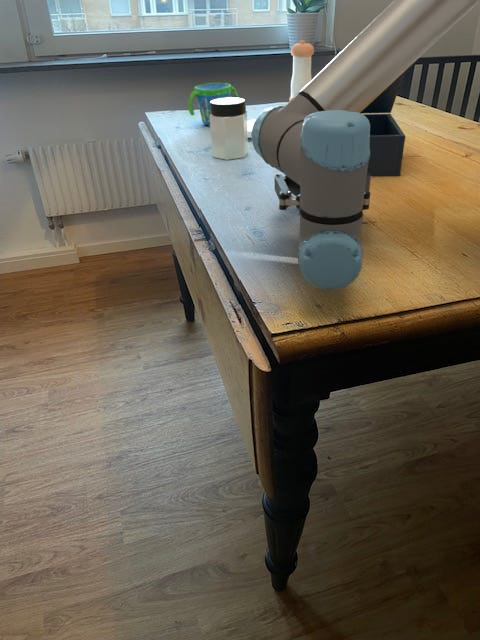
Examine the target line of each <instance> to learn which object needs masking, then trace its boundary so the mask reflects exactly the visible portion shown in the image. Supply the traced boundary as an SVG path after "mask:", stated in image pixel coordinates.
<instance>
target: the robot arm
mask: <svg viewBox="0 0 480 640" xmlns="http://www.w3.org/2000/svg"><path fill="white" fill-rule="evenodd" d="M478 3H480V0H393V1H392V2H391V3H390V4H389V5H387V6H386V8H384V9H383V10H382V11H381V12H380V13H379V14H378V15H377V16H376V17H375V18H374V19H373V20H372V21H371V22H370V23H369V24H368V25H367V26H366V27H365V28H364V29H363V30H362V31H360V33H358V35H356V37H354V39H352V40H351V42H349V43H348V44H347V45H346V46H345V47H344V48H343V49H342V50H341V51H339V53H338V54H337V55H336V56H335V57H334V58H333V59H332V60H331V61H330V62H329V63H328V64H326V65H325V67H323V68H322V70H320V71H319V72H318V73H317V74H316V75H315V76H314V77H312V80H311V81H310V82H309V83H308V84H307V85H306V86H305V87H304V88H303V89H302V90H301V91H300V92H299V93H298V94H297V95H296V96H295V97H294V98H293V99H292V100H290V99H289V101H288V102H287V103H286V104H285V105H276V106H275V105H274V106H271V107H268V108H266V109H264V110H262V111H261V112H260V114H259V115H258V116H257V117H256V118H255V119H256V120H255V122H254V125H253V128H252V134H251V137H252V138H251V141H252V142H251V143H252V146H253V149H254V151H255V152H256V154H257V155H258V156H259V157H260V158H262V160H263V161H264V162H265V164H267V165H269V166H270V167H271V168H274V169H276V170H277V171H279V172H281V173H282V174H279V173H277V174H274V192H275V194H276V196H277V198H278V210H280V211H286V210H287V209H288V208H291V207H292V206H293V207H295V209H297V210H298V231H299V232H298V250H297V262H298V264H299V269H300V271H299V272H300V273H301V275H302V277H303V279H304V280H305V281H306V283H308V284H309V285H311V286H312V287H313V288H316V289H318V290H320V291H321V290H322V291H328V292H331V291H337V290H341V289H344V288H346V287H348V286H349V285H351V284H353V282H355V281H356V279H357V278H358V277H359V276H360V273H361V272H362V269H363V268H362V267H363V255H364V250H363V248H362V244H361V238H362V226H363V218H364V212H363V211H367V210H369V209H370V203H371V202H370V201H371V191H370V189H371V179H372V176H371V174H370V173H367V169H368V162H369V157H370V149H369V147H370V146H369V143H370V123H369V120H368V119H367V117H365V116H364V115H363V114H364V113H362V114H361V113H360V112H361V111H363V110H364V109H365V108H366V107H367V106H368V105H369V104H370V103H371V102H372V101H373V100H374V99H375V98H376V97H378V96H379V95H380V94H381V93H382V92H383V91H384V90H385V89H386V88H387V87H388V86H389V85H390V84H391V83H393V82H394V81H395V80H396V79H397V78H398V77H399V76H400V75H401V74H402V73H403V72H404V71H405V72H406V71H407V70H408V69H409V68H410V67H411V66H412V65H413V64H414V63H415V62H416V61H417V60H418V59H420V58H421V56H423V55H424V54H425V53H426V52H427V51H428V50H429V49H430V48H431V47H432V46H433V45H434V44H436V43H437V42H438V41H439V40H440V39H441V38H442V37H443V36H444V35H445V34H447V32H449V31H450V30H451V29H452V28H453V27H454V26H455V25H456V24H457V23H458V22H460V21H461V20H462V19H463V17H464V16H466V15H467V14H468V13H469V12H470V11H471V10H472V9H473V8H475V6H476V5H478ZM283 174H284V176H283Z"/></svg>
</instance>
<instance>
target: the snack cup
mask: <svg viewBox="0 0 480 640" xmlns="http://www.w3.org/2000/svg"><path fill="white" fill-rule="evenodd" d="M231 92H232V95H233V97H232V98H239V94H238V91H237V89H236V87H234V86H232V84H231V83H228V82H227V83H226V82H208V83H202V84H198V85H196V86H194V90H193V91H191V93H190V95H189V98H188V104H187V105H188V112H189V114H190V115H191V116H195V111H194V107H193V100H194V99H195V98H196V99H197V105H198V109H199V113H200V118H201V121H202V124H203V126H208V127H210V115H211V112H210V102H211V101H212V100H215V99H220V98H231ZM195 96H196V97H195Z"/></svg>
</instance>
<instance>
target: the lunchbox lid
mask: <svg viewBox="0 0 480 640" xmlns="http://www.w3.org/2000/svg"><path fill="white" fill-rule="evenodd" d="M405 72H406V70H405V71H404V72H403V73H402V74H401V75H400V76H399V77H398V78H397V79H396V80H395V81H394V82H393V83H391V84H390V85H389V86H388V87H387V88H386V89H385V90H384V91H383V92H382V93H381V94H380V95H379V96H378V97H376V98H375V99H374V100H373V101H372V102H371V103H370V104H369V105H368V106H367V107H366V108H365V109H364V110H363V111H361V112H360V113H361V114H391V112H392V110H393V107H394V105H395V102H396V99H397V96H398V93H399V90H400V87H401V84H402V82H403V78H404V76H405Z"/></svg>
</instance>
